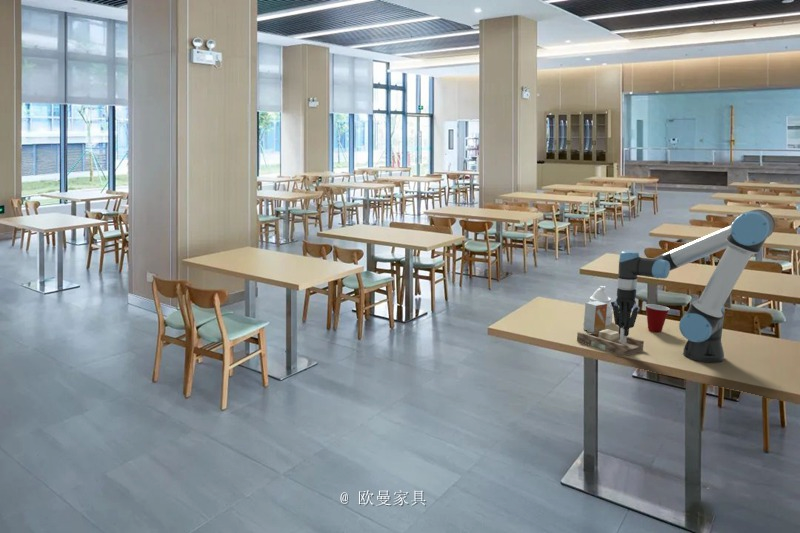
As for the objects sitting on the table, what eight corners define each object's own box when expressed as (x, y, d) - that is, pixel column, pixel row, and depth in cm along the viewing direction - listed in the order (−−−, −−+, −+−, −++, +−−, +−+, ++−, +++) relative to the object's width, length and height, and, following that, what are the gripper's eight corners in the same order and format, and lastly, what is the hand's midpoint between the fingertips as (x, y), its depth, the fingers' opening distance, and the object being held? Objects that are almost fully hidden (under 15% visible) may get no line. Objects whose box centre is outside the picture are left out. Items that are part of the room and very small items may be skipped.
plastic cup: (673, 333, 295) (675, 307, 293) (654, 335, 291) (657, 309, 289) (655, 326, 305) (658, 302, 302) (637, 328, 301) (640, 304, 298)
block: (618, 341, 275) (619, 332, 274) (610, 343, 271) (611, 334, 270) (606, 337, 279) (607, 329, 279) (598, 340, 276) (599, 331, 275)
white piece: (616, 325, 307) (619, 288, 303) (591, 325, 305) (594, 288, 301) (604, 317, 319) (607, 282, 316) (580, 318, 317) (582, 282, 314)
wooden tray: (642, 350, 270) (643, 341, 269) (624, 356, 262) (625, 346, 261) (595, 336, 288) (595, 327, 288) (576, 341, 281) (577, 332, 280)
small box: (593, 333, 293) (596, 305, 290) (582, 329, 298) (584, 302, 295) (605, 330, 297) (607, 303, 295) (594, 327, 302) (596, 300, 300)
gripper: (646, 289, 262) (641, 344, 267) (618, 284, 273) (615, 337, 277) (635, 292, 258) (631, 348, 262) (607, 286, 268) (604, 340, 273)
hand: (622, 342), depth 270 cm, fingers closed
